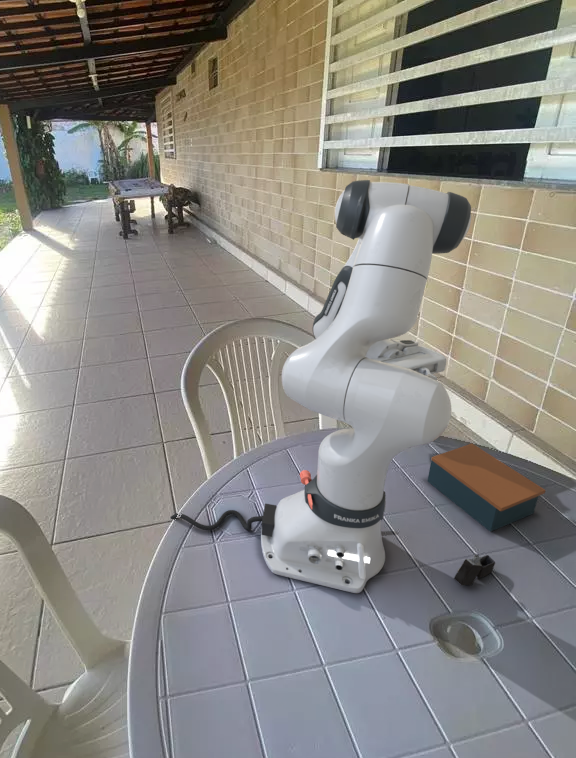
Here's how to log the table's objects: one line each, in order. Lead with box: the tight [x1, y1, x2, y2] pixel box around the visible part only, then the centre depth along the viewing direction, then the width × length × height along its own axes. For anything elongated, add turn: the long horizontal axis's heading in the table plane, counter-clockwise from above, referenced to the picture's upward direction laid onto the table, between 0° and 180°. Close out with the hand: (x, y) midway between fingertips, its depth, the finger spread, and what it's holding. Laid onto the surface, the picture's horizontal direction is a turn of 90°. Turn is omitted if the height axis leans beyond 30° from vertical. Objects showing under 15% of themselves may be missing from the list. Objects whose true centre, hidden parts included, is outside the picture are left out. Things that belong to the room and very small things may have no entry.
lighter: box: [453, 553, 496, 586], centre depth 72 cm, size 8×2×5 cm
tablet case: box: [427, 459, 540, 532], centre depth 87 cm, size 15×12×6 cm
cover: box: [430, 442, 546, 511], centre depth 86 cm, size 15×12×1 cm
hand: (431, 382), depth 94 cm, fingers closed
